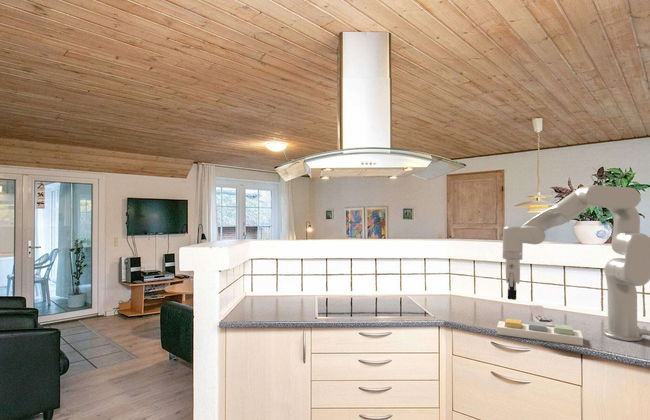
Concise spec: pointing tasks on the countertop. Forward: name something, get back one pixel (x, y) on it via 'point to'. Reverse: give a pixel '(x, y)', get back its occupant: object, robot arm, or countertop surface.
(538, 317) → the mobile phone
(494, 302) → the countertop surface
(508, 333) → the keypad
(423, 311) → the countertop surface
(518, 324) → the key ochre
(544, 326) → the key slate
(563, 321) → the countertop surface
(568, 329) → the key sage
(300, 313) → the countertop surface
